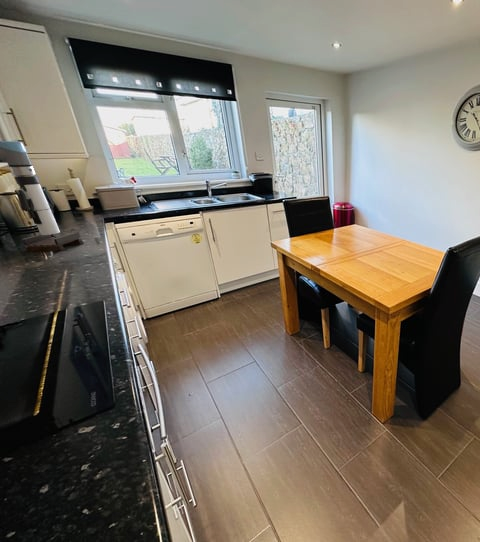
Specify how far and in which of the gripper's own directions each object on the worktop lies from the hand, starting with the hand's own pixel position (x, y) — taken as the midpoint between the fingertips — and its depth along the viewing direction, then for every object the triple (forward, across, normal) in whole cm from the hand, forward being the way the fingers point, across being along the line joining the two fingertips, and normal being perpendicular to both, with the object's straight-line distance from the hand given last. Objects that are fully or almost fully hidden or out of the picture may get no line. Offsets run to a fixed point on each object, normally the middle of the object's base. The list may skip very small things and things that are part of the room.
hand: (45, 221), depth 146 cm
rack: (+14, 0, 0) cm, 14 cm away
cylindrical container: (+6, 0, 0) cm, 6 cm away
